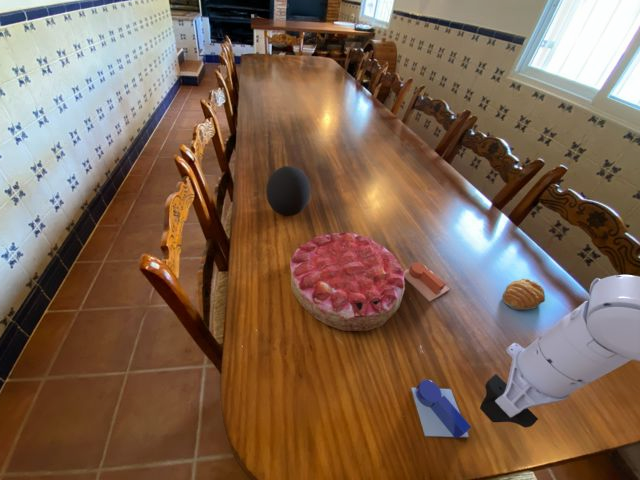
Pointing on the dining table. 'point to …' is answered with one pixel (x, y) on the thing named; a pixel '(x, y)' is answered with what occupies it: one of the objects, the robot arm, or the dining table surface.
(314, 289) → the cake
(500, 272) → the dining table surface
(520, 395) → the robot arm
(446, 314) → the dining table surface
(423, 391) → the blue spoon
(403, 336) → the dining table surface
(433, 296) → the rose mat
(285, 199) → the decorative egg
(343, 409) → the dining table surface
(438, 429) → the blue mat
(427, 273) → the terracotta spoon
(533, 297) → the pastry
